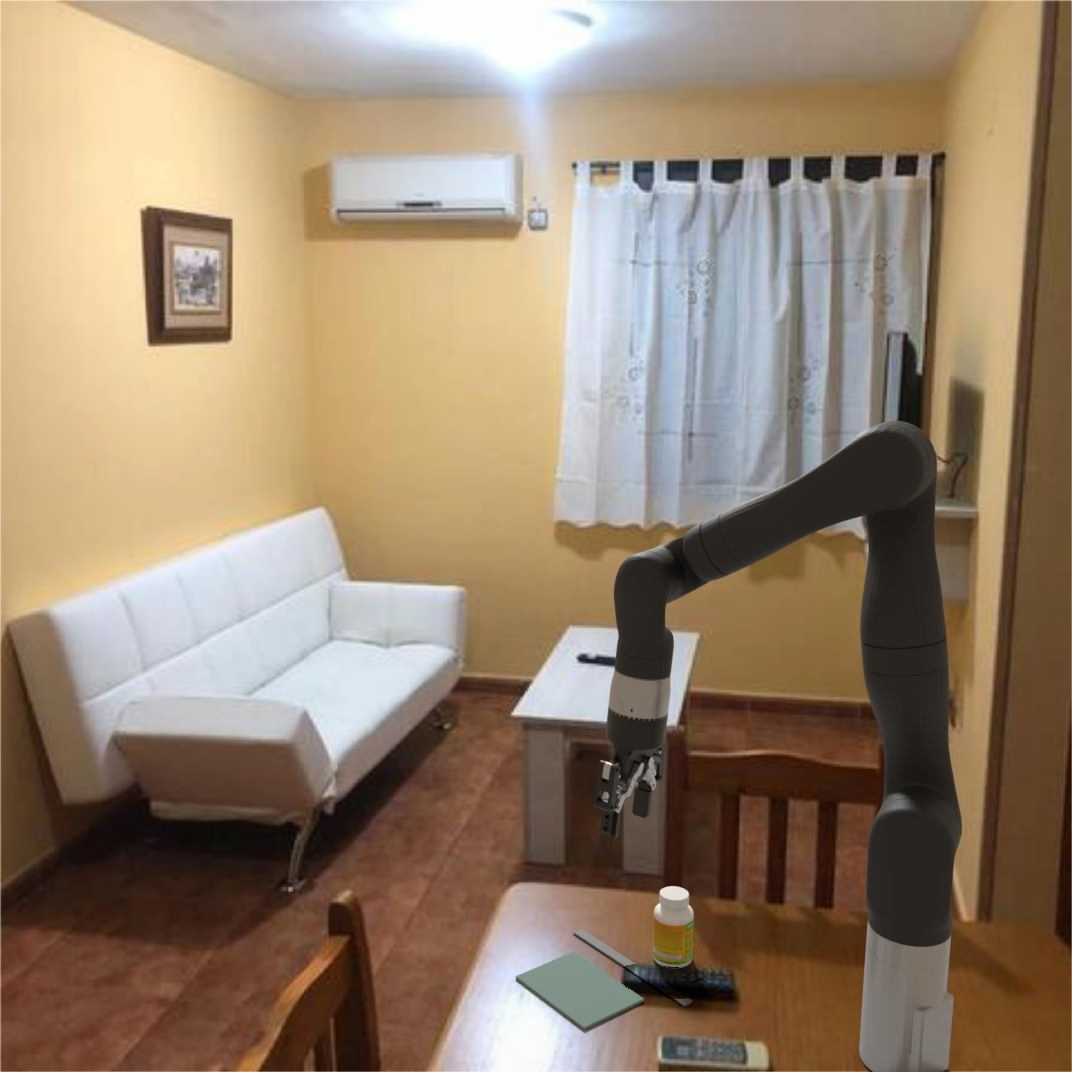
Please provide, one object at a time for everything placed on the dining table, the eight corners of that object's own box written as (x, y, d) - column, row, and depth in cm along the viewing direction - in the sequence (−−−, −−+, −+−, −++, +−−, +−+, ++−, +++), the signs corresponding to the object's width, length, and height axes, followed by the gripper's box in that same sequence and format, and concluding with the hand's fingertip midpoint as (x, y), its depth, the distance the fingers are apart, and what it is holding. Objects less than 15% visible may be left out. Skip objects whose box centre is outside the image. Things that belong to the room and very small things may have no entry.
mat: (643, 1001, 149) (643, 998, 148) (584, 1030, 143) (584, 1027, 142) (573, 954, 159) (574, 951, 159) (515, 979, 153) (515, 976, 153)
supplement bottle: (690, 971, 155) (693, 905, 153) (650, 967, 156) (652, 900, 155) (693, 950, 161) (695, 885, 159) (654, 945, 162) (656, 881, 160)
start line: (692, 1002, 148) (692, 1000, 148) (684, 1007, 147) (684, 1004, 147) (581, 930, 165) (581, 928, 165) (573, 934, 164) (573, 932, 164)
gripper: (638, 728, 137) (624, 854, 141) (690, 700, 149) (675, 817, 152) (584, 711, 141) (571, 835, 144) (638, 685, 153) (625, 800, 156)
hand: (625, 826), depth 148 cm, fingers open, 8 cm apart
